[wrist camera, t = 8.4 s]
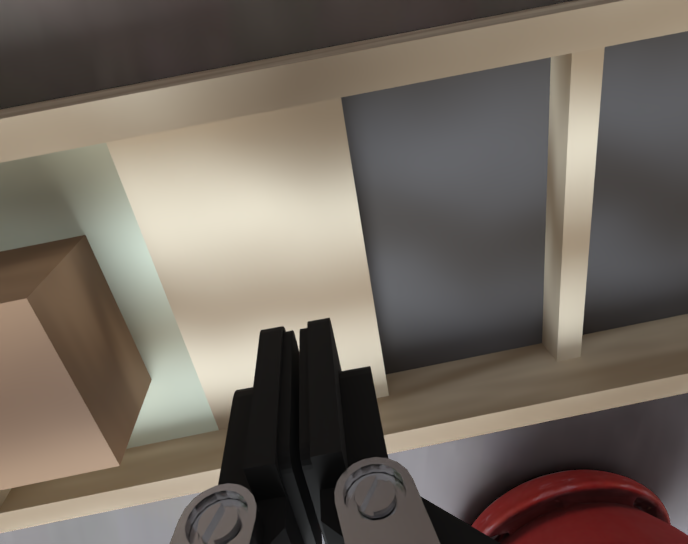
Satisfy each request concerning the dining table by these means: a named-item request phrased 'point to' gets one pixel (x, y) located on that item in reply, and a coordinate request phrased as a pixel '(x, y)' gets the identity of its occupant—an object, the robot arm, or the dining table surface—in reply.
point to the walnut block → (63, 366)
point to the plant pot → (579, 512)
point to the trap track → (379, 229)
